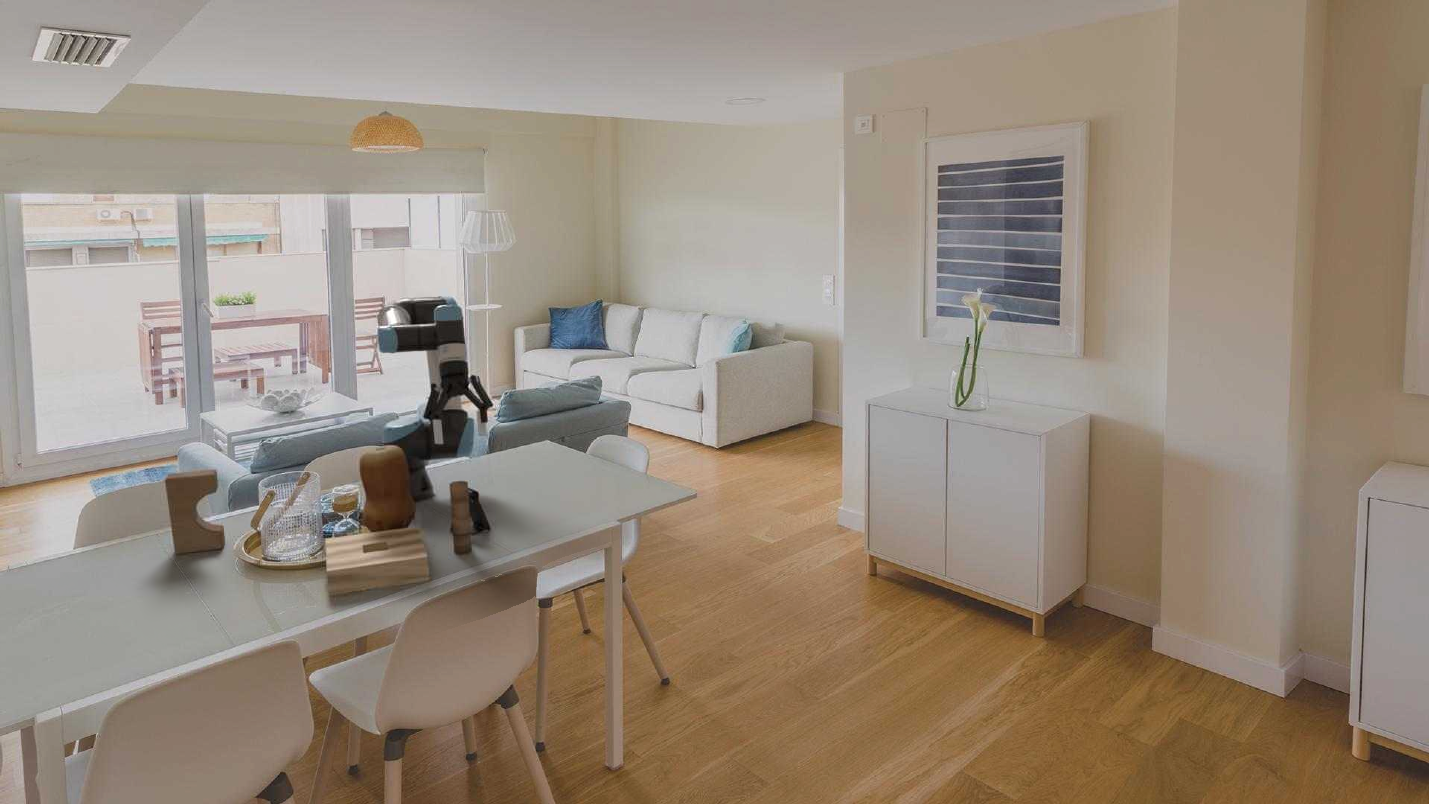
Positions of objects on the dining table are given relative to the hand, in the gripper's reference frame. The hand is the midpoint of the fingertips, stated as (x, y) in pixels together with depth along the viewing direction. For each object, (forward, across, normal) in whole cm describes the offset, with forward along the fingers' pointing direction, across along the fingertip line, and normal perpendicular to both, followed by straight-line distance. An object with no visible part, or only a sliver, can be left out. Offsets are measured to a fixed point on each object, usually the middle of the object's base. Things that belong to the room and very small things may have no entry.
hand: (460, 440), depth 249 cm
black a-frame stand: (+24, -4, +6) cm, 25 cm away
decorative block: (+20, -63, -26) cm, 71 cm away
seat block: (+31, -12, -23) cm, 41 cm away
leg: (+29, +1, -6) cm, 30 cm away
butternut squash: (+23, -21, -4) cm, 32 cm away
